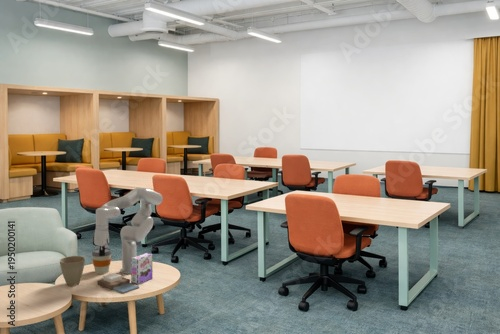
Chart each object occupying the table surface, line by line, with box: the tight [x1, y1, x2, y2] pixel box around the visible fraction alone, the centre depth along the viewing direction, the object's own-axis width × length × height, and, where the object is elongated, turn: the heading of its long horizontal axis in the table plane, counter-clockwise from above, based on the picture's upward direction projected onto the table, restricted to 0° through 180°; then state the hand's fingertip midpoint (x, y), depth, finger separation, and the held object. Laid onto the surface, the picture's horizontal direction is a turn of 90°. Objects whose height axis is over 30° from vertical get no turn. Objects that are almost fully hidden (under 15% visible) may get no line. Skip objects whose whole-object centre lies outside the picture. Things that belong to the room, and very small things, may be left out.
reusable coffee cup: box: [91, 247, 112, 275], centre depth 311 cm, size 13×13×15 cm
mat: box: [112, 282, 140, 295], centre depth 280 cm, size 12×10×1 cm
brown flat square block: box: [96, 276, 131, 291], centre depth 287 cm, size 14×14×3 cm
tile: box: [102, 272, 123, 283], centre depth 287 cm, size 8×8×2 cm
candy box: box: [130, 252, 153, 285], centre depth 294 cm, size 14×6×16 cm, turn 149°
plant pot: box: [59, 255, 86, 287], centre depth 286 cm, size 15×15×16 cm
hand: (102, 255), depth 291 cm, fingers closed
